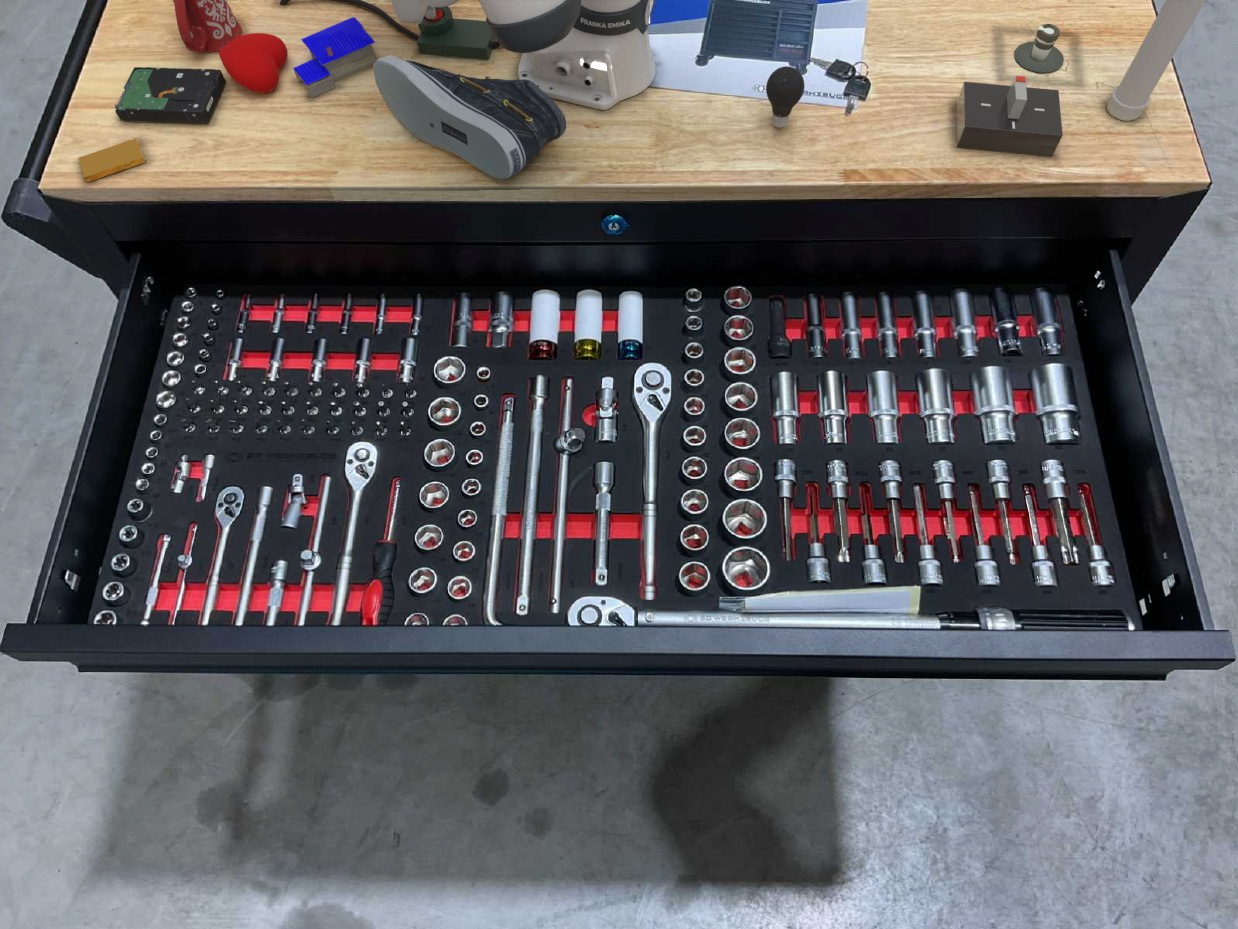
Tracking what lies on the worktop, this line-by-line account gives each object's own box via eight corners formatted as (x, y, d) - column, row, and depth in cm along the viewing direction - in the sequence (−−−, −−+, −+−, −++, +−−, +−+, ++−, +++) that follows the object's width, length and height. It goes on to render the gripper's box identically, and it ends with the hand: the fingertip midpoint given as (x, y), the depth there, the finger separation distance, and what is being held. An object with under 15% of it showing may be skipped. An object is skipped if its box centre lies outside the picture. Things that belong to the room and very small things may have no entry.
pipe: (1140, 125, 137) (1257, -71, 111) (1098, 116, 138) (1204, -80, 112) (1143, 102, 139) (1259, -96, 113) (1101, 93, 141) (1206, -105, 114)
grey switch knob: (1018, 119, 133) (1027, 98, 129) (1007, 118, 133) (1016, 97, 130) (1017, 96, 135) (1026, 75, 132) (1006, 95, 135) (1015, 74, 132)
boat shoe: (370, 105, 142) (433, 70, 149) (510, 207, 135) (570, 165, 142) (362, 41, 133) (430, 6, 139) (512, 147, 126) (576, 105, 132)
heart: (226, 14, 145) (290, 30, 147) (231, 42, 150) (292, 57, 152) (205, 61, 140) (271, 77, 141) (210, 89, 144) (274, 104, 146)
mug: (217, -58, 144) (249, 20, 156) (163, -60, 145) (198, 17, 156) (192, -10, 138) (227, 67, 150) (135, -12, 138) (174, 65, 150)
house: (283, 61, 150) (270, 31, 145) (358, 29, 154) (349, -2, 149) (311, 98, 145) (300, 68, 140) (389, 63, 149) (380, 33, 144)
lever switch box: (956, 147, 136) (965, 125, 132) (956, 103, 141) (964, 80, 137) (1051, 156, 134) (1063, 134, 131) (1048, 111, 139) (1059, 88, 135)
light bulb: (795, 140, 138) (805, 85, 129) (758, 136, 138) (766, 80, 129) (799, 115, 140) (809, 59, 131) (763, 111, 141) (771, 55, 132)
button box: (413, 53, 150) (408, 31, 147) (426, 23, 154) (421, 1, 150) (488, 60, 149) (484, 38, 145) (499, 29, 152) (496, 8, 149)
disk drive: (228, 82, 148) (141, 79, 149) (221, 68, 146) (132, 65, 146) (210, 126, 143) (120, 123, 144) (203, 111, 141) (111, 108, 141)
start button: (424, 27, 149) (422, 18, 148) (429, 16, 151) (427, 6, 149) (441, 29, 149) (439, 19, 148) (446, 18, 150) (444, 8, 149)
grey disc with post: (1078, 84, 142) (1092, 56, 137) (1000, 77, 143) (1011, 50, 139) (1073, 35, 147) (1086, 8, 143) (998, 29, 149) (1009, 1, 144)
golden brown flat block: (82, 163, 140) (88, 183, 137) (78, 157, 139) (84, 177, 136) (139, 143, 141) (146, 162, 139) (135, 138, 140) (142, 157, 138)
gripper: (413, -111, 141) (431, -27, 154) (374, -33, 132) (397, 51, 144) (451, -108, 141) (467, -24, 153) (415, -29, 131) (435, 54, 143)
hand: (433, 13), depth 148 cm, fingers closed, pressing on start button
